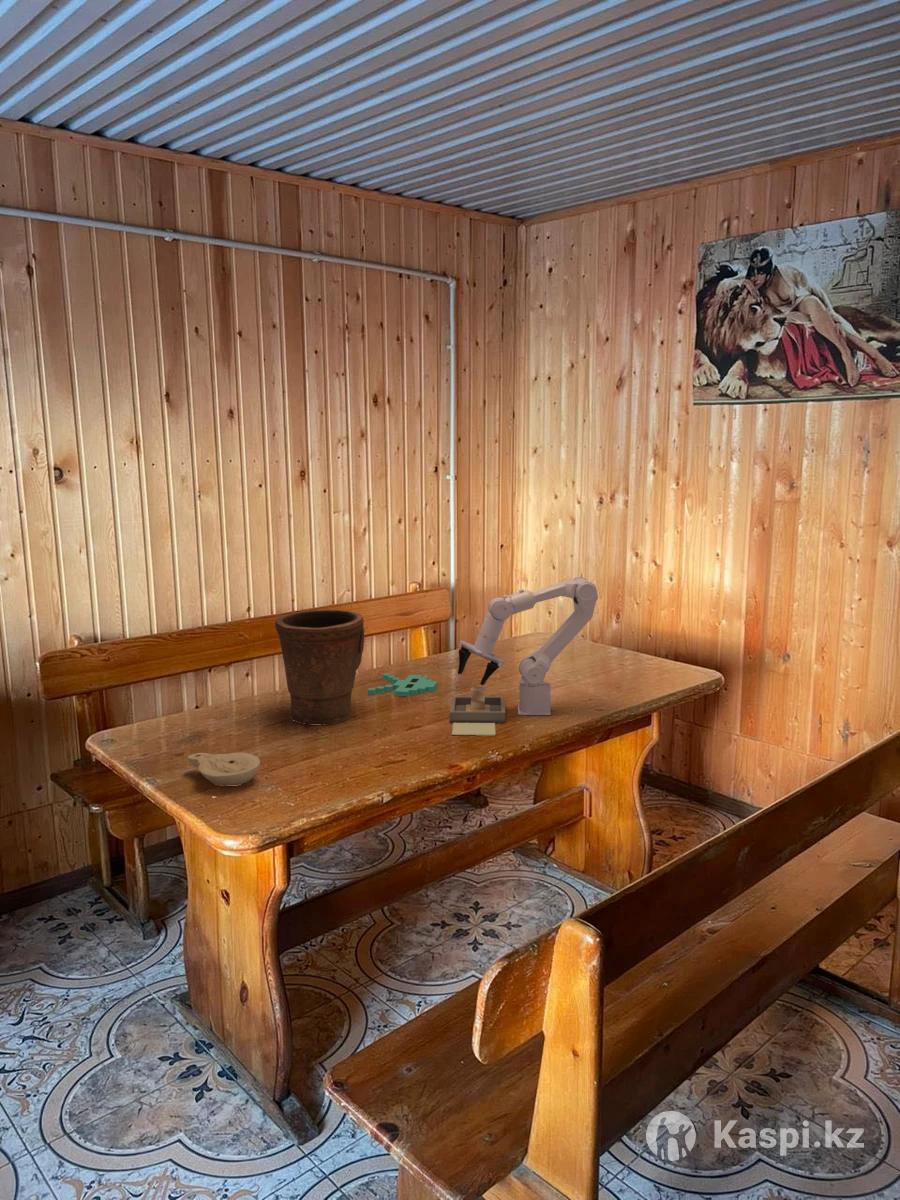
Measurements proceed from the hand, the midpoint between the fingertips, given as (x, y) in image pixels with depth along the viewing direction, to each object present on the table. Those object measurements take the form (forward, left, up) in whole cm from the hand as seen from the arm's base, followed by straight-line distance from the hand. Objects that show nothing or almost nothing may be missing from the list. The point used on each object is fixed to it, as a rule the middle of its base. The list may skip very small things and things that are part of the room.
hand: (470, 678), depth 263 cm
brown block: (-2, 0, -9) cm, 9 cm away
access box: (-2, 0, -11) cm, 11 cm away
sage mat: (-1, +14, -11) cm, 18 cm away
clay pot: (+43, 0, -11) cm, 44 cm away
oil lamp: (+60, +52, -11) cm, 80 cm away
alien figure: (+22, -28, -12) cm, 37 cm away
